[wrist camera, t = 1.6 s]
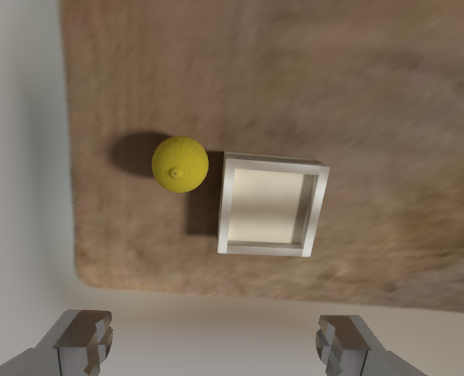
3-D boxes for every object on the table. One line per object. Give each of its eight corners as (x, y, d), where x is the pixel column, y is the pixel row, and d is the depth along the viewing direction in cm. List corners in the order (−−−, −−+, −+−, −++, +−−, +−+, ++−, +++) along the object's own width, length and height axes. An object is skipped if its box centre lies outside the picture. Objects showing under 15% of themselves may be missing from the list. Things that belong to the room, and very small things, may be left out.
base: (224, 151, 28) (226, 158, 24) (314, 158, 29) (330, 166, 25) (217, 234, 32) (217, 252, 28) (298, 238, 33) (309, 256, 29)
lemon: (217, 165, 29) (218, 186, 21) (177, 187, 29) (164, 214, 22) (194, 123, 27) (186, 129, 20) (151, 146, 28) (128, 160, 20)
